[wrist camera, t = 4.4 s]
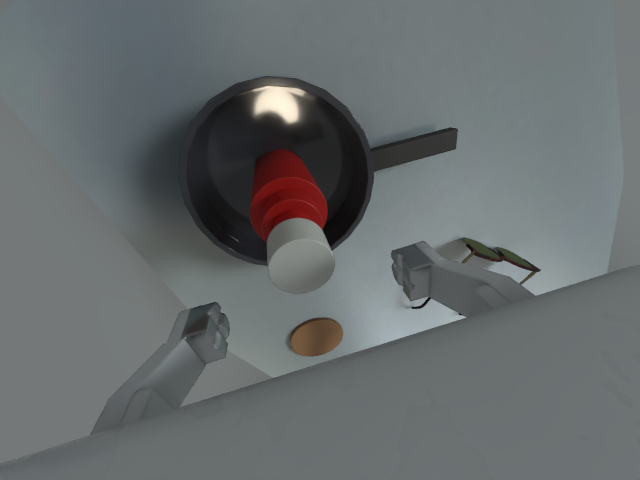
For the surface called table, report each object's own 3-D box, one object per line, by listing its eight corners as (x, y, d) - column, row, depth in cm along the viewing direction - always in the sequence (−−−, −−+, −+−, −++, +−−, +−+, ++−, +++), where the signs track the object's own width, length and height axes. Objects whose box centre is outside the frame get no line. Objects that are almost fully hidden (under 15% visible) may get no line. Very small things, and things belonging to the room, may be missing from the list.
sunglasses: (516, 251, 41) (543, 271, 37) (460, 309, 48) (477, 332, 44) (453, 233, 36) (477, 254, 32) (401, 301, 43) (415, 325, 39)
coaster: (297, 359, 43) (298, 362, 43) (283, 327, 39) (283, 330, 38) (345, 343, 44) (346, 346, 43) (337, 311, 39) (338, 314, 39)
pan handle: (365, 169, 25) (369, 173, 24) (363, 150, 24) (367, 152, 23) (448, 147, 26) (456, 149, 25) (450, 127, 25) (458, 128, 24)
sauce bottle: (264, 206, 27) (265, 321, 13) (245, 156, 24) (224, 237, 10) (311, 193, 28) (361, 291, 14) (299, 142, 25) (347, 203, 11)
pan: (234, 258, 30) (229, 285, 26) (157, 105, 21) (131, 108, 17) (363, 221, 31) (379, 241, 27) (344, 60, 22) (363, 52, 18)
